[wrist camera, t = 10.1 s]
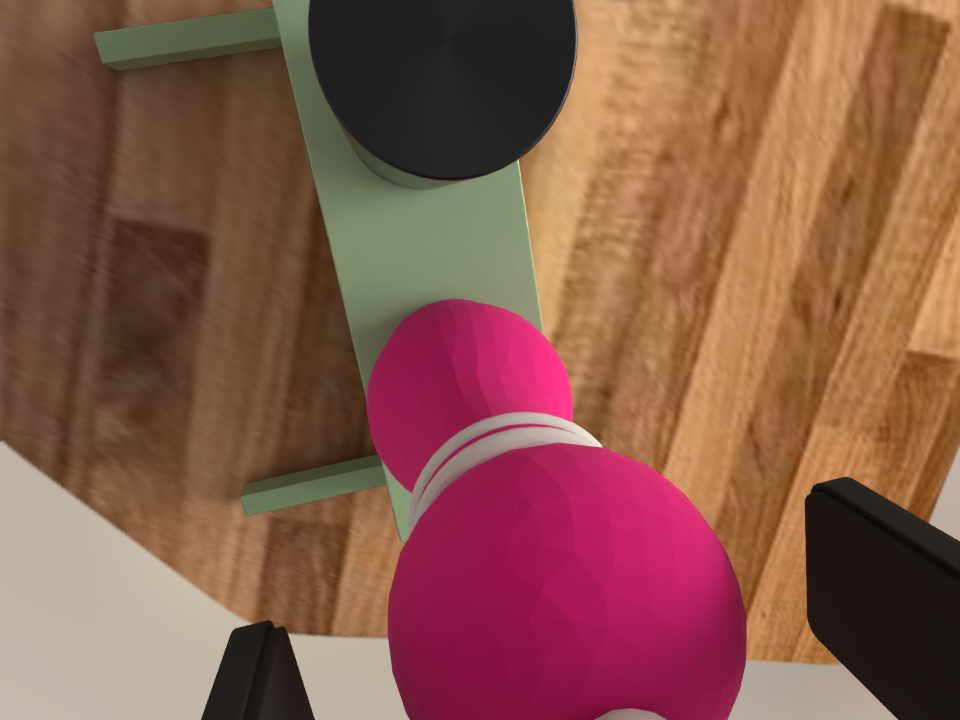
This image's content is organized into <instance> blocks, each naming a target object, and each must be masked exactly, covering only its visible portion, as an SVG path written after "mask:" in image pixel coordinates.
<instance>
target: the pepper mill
mask: <svg viewBox="0 0 960 720" xmlns="http://www.w3.org/2000/svg"><path fill="white" fill-rule="evenodd" d="M367 416H368V421H369V427H370V432H371V437H372V440H373V442H374V445H375V448H376V451H377V453H378V455H379V456H380V458H381V459H382V461H383V462H384V464H385V465H386V467H387V468H388V470H389V471H390V473H391V474H392V475H393V476H394V478H395V479H396V480H397V481H398V482H399V483H400V484H401V485H402V486H403V487H404V488H405V489H406V490H408V491H409V492H411V493H412V496H411V501H410V505H409V514H408V528H409V538H408V540H407V542H406V544H405V545H404V547H403V549H402V551H401V553H400V556H399V560H398V564H397V567H396V571H395V575H394V579H393V583H392V586H391V590H390V594H389V604H388V639H389V647H390V655H391V663H392V671H393V675H394V678H395V681H396V684H397V687H398V690H399V693H400V696H401V699H402V702H403V705H404V708H405V711H406V713H407V715H408V717H409V719H410V720H727V719H728V717H729V715H730V712H731V710H732V707H733V705H734V703H735V700H736V698H737V695H738V693H739V690H740V687H741V682H742V678H743V673H744V668H745V662H746V613H745V609H744V605H743V600H742V596H741V592H740V587H739V583H738V581H737V578H736V575H735V573H734V570H733V567H732V565H731V562H730V559H729V557H728V554H727V553H726V551H725V549H724V548H723V546H722V544H721V543H720V541H719V540H718V538H717V536H716V535H715V533H714V531H713V530H712V529H711V527H710V526H709V524H708V523H707V522H706V520H705V519H704V518H703V516H702V515H701V513H700V512H699V511H698V510H697V509H696V507H695V506H694V505H693V504H692V503H691V501H690V500H689V499H688V498H687V496H686V495H685V494H683V493H682V492H681V491H680V490H679V489H678V488H677V487H675V486H674V485H673V484H672V483H671V482H670V481H668V480H667V479H666V478H664V477H663V476H662V475H660V474H659V473H657V472H656V471H655V470H653V469H652V468H651V467H649V466H648V465H646V464H643V463H641V462H638V461H636V460H633V459H631V458H628V457H626V456H623V455H620V454H618V453H615V452H613V451H610V450H608V449H605V448H603V447H602V445H601V444H600V443H599V442H598V441H597V440H596V439H595V438H594V437H593V436H592V435H590V434H589V433H588V432H587V431H585V430H584V429H583V428H581V427H579V426H578V425H576V424H574V423H572V417H573V403H572V394H571V387H570V384H569V380H568V376H567V372H566V369H565V367H564V365H563V363H562V361H561V359H560V357H559V355H558V354H557V352H556V351H555V350H554V348H553V347H552V346H551V344H550V343H549V341H548V340H547V339H546V337H545V336H544V335H543V334H542V333H541V332H540V331H539V330H538V329H537V328H536V327H535V326H534V325H532V324H531V323H530V322H529V321H527V320H526V319H524V318H523V317H521V316H520V315H518V314H516V313H513V312H511V311H509V310H507V309H504V308H501V307H497V306H493V305H489V304H485V303H478V302H475V301H470V300H465V299H448V300H443V301H439V302H434V303H431V304H428V305H426V306H424V307H422V308H420V309H418V310H417V311H415V312H414V313H412V314H411V315H409V316H408V317H406V318H405V319H404V320H403V321H402V322H401V323H400V324H399V326H398V327H397V328H396V329H395V331H394V332H393V334H392V335H391V337H390V338H389V340H388V342H387V344H386V346H385V347H384V348H383V350H382V351H381V353H380V355H379V357H378V359H377V361H376V363H375V364H374V367H373V370H372V373H371V376H370V379H369V384H368V390H367Z"/></svg>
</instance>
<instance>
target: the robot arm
mask: <svg viewBox="0 0 960 720" xmlns="http://www.w3.org/2000/svg"><path fill="white" fill-rule="evenodd" d="M805 533H806V581H807V618H808V622H809V626H810V628H811V630H812V632H813V633H814V635H815V636H816V638H817V639H818V640H819V641H820V642H821V643H822V644H823V645H824V646H825V647H826V648H827V649H828V650H829V651H830V652H831V653H832V654H833V655H834V656H835V657H836V658H837V659H838V660H839V661H840V662H841V663H842V664H843V665H844V666H845V667H846V668H847V669H848V670H849V671H850V672H851V673H852V674H853V675H854V676H855V677H856V678H857V679H858V680H859V681H860V682H861V683H862V684H863V685H864V686H865V687H866V688H867V689H868V690H869V691H870V692H871V693H872V694H873V695H874V696H875V697H876V698H877V699H878V700H879V701H880V702H881V703H882V704H883V705H884V706H885V707H886V708H887V709H888V710H889V711H890V712H891V713H892V714H893V715H894V716H895V717H896V718H897V719H898V720H960V541H958V540H956V539H954V538H953V537H951V536H950V535H948V534H946V533H944V532H943V531H941V530H939V529H937V528H936V527H934V526H932V525H931V524H929V523H927V522H926V521H924V520H922V519H921V518H919V517H917V516H915V515H914V514H912V513H910V512H909V511H907V510H905V509H903V508H902V507H900V506H898V505H897V504H895V503H893V502H891V501H890V500H888V499H886V498H885V497H883V496H881V495H880V494H878V493H876V492H874V491H873V490H871V489H869V488H868V487H866V486H864V485H862V484H861V483H859V482H857V481H856V480H854V479H852V478H849V477H842V478H838V479H834V480H830V481H826V482H822V483H818V484H816V485H814V486H813V488H812V490H811V494H809V495H808V496H807V497H806V499H805ZM201 720H315V719H314V716H313V713H312V709H311V706H310V703H309V700H308V697H307V693H306V690H305V687H304V684H303V681H302V678H301V674H300V671H299V668H298V665H297V662H296V659H295V655H294V652H293V649H292V646H291V643H290V639H289V636H288V633H287V631H286V629H285V627H283V626H281V627H277V628H275V627H274V625H273V623H272V622H271V621H269V620H267V621H263V622H259V623H255V624H251V625H247V626H244V627H239V628H236V629H234V630H233V631H232V633H231V635H230V638H229V641H228V644H227V647H226V649H225V652H224V655H223V658H222V661H221V664H220V667H219V670H218V672H217V675H216V678H215V681H214V684H213V687H212V690H211V693H210V696H209V698H208V701H207V704H206V707H205V710H204V713H203V716H202V719H201Z"/></svg>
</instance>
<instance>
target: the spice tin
mask: <svg viewBox="0 0 960 720" xmlns="http://www.w3.org/2000/svg"><path fill="white" fill-rule="evenodd" d="M308 39H309V46H310V52H311V58H312V63H313V66H314V70H315V73H316V76H317V80H318V82H319V85H320V87H321V89H322V92H323V94H324V96H325V99H326V100H327V102H328V104H329V106H330V108H331V110H332V111H333V113H334V115H335V117H336V119H337V121H338V122H339V124H340V126H341V128H342V130H343V132H344V134H345V135H346V137H347V139H348V141H349V143H350V144H351V146H352V148H353V150H354V151H355V153H356V154H357V155H358V157H359V158H360V159H361V160H362V162H363V163H364V164H365V165H366V166H367V167H368V168H369V169H371V170H372V171H373V172H374V173H376V174H377V175H378V176H380V177H382V178H383V179H385V180H387V181H389V182H391V183H393V184H395V185H399V186H402V187H405V188H411V189H435V188H439V187H443V186H447V185H451V184H455V183H459V182H463V181H466V180H470V179H474V178H478V177H482V176H486V175H489V174H491V173H494V172H496V171H499V170H501V169H503V168H505V167H507V166H508V165H510V164H512V163H514V162H515V161H517V160H518V159H520V158H521V157H522V156H524V155H525V154H526V153H527V152H529V151H530V150H531V149H532V148H533V147H534V146H535V145H536V144H537V143H538V142H539V141H540V140H541V139H542V138H543V136H544V135H545V134H546V133H547V131H548V130H549V129H550V127H551V126H552V125H553V123H554V121H555V120H556V118H557V116H558V115H559V113H560V111H561V109H562V107H563V105H564V102H565V100H566V98H567V95H568V93H569V89H570V86H571V83H572V79H573V76H574V70H575V65H576V59H577V43H578V35H577V19H576V14H575V8H574V2H573V0H309V10H308Z"/></svg>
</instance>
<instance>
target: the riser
mask: <svg viewBox="0 0 960 720" xmlns="http://www.w3.org/2000/svg"><path fill="white" fill-rule="evenodd" d="M271 1H272V6H273V8H266V9H259V10H252V11H245V12H238V13H230V14H223V15H216V16H209V17H202V18H195V19H188V20H181V21H174V22H167V23H159V24H152V25H145V26H138V27H131V28H124V29H117V30H110V31H103V32H96V33H93V36H94V39H95V42H96V45H97V48H98V51H99V55H100V58H101V61H102V63H103V64H105V65H107V66H109V67H111V68H113V69H115V70H117V71H122V70H129V69H136V68H142V67H149V66H156V65H163V64H169V63H176V62H183V61H190V60H196V59H203V58H210V57H217V56H223V55H230V54H237V53H244V52H250V51H257V50H264V49H271V48H277V47H283V52H284V56H285V60H286V64H287V68H288V73H289V77H290V81H291V85H292V89H293V94H294V98H295V102H296V106H297V110H298V115H299V119H300V123H301V127H302V131H303V136H304V140H305V144H306V148H307V152H308V157H309V161H310V165H311V169H312V173H313V177H314V182H315V186H316V190H317V194H318V198H319V203H320V207H321V211H322V215H323V219H324V224H325V228H326V232H327V236H328V240H329V245H330V249H331V253H332V257H333V261H334V266H335V270H336V274H337V278H338V282H339V287H340V291H341V295H342V299H343V303H344V307H345V312H346V316H347V320H348V324H349V328H350V333H351V337H352V341H353V345H354V349H355V354H356V358H357V362H358V366H359V370H360V375H361V379H362V383H363V387H364V391H365V396H366V400H367V390H368V384H369V379H370V376H371V373H372V370H373V367H374V364H375V363H376V361H377V359H378V357H379V355H380V353H381V351H382V350H383V348H384V347H385V346H386V344H387V342H388V340H389V338H390V337H391V335H392V334H393V332H394V331H395V329H396V328H397V327H398V326H399V324H400V323H401V322H402V321H403V320H404V319H405V318H406V317H408V316H409V315H411V314H412V313H414V312H415V311H417V310H418V309H420V308H422V307H424V306H426V305H428V304H431V303H434V302H439V301H443V300H448V299H465V300H470V301H475V302H478V303H485V304H489V305H493V306H497V307H501V308H504V309H507V310H509V311H511V312H513V313H516V314H518V315H520V316H521V317H523V318H524V319H526V320H527V321H529V322H530V323H531V324H532V325H534V326H535V327H536V328H537V329H538V330H539V331H540V332H541V333H542V334H543V335H544V332H543V325H542V318H541V311H540V304H539V297H538V290H537V284H536V277H535V270H534V263H533V256H532V249H531V242H530V235H529V229H528V222H527V215H526V208H525V201H524V194H523V187H522V180H521V173H520V167H519V160H517V161H515V162H514V163H512V164H510V165H508V166H507V167H505V168H503V169H501V170H499V171H496V172H494V173H491V174H489V175H486V176H482V177H478V178H474V179H470V180H466V181H463V182H459V183H455V184H451V185H447V186H443V187H439V188H435V189H411V188H405V187H402V186H399V185H395V184H393V183H391V182H389V181H387V180H385V179H383V178H382V177H380V176H378V175H377V174H376V173H374V172H373V171H372V170H371V169H369V168H368V167H367V166H366V165H365V164H364V163H363V162H362V160H361V159H360V158H359V157H358V155H357V154H356V153H355V151H354V150H353V148H352V146H351V144H350V143H349V141H348V139H347V137H346V135H345V134H344V132H343V130H342V128H341V126H340V124H339V122H338V121H337V119H336V117H335V115H334V113H333V111H332V110H331V108H330V106H329V104H328V102H327V100H326V99H325V96H324V94H323V92H322V89H321V87H320V85H319V82H318V80H317V76H316V73H315V70H314V66H313V63H312V58H311V52H310V46H309V39H308V10H309V0H271ZM386 484H387V488H388V492H389V496H390V500H391V505H392V509H393V513H394V517H395V521H396V526H397V530H398V534H399V538H400V541H401V542H405V541H407V540H408V538H409V528H408V514H409V505H410V501H411V496H412V493H411V492H409V491H408V490H406V489H405V488H404V487H403V486H402V485H401V484H400V483H399V482H398V481H397V480H396V479H395V478H394V476H393V475H392V474H391V473H390V471H389V470H388V468H387V467H386V465H385V464H384V462H383V461H382V459H381V458H380V456H379V455H378V454H376V455H371V456H367V457H362V458H358V459H353V460H349V461H344V462H340V463H335V464H331V465H327V466H322V467H318V468H313V469H309V470H304V471H300V472H295V473H291V474H286V475H282V476H277V477H273V478H268V479H264V480H259V481H255V482H250V483H246V485H245V487H244V489H243V491H242V493H241V495H240V499H241V502H242V506H243V509H244V512H245V515H246V516H250V515H255V514H259V513H263V512H268V511H272V510H276V509H281V508H285V507H290V506H294V505H298V504H303V503H307V502H311V501H316V500H320V499H325V498H329V497H333V496H338V495H342V494H346V493H351V492H355V491H360V490H364V489H368V488H373V487H377V486H381V485H386Z"/></svg>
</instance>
